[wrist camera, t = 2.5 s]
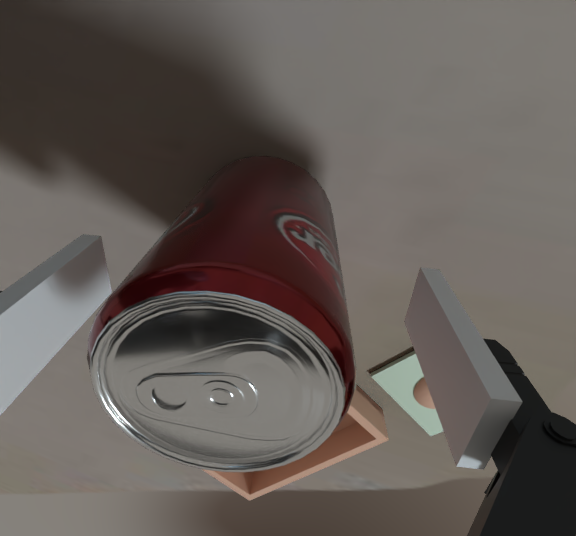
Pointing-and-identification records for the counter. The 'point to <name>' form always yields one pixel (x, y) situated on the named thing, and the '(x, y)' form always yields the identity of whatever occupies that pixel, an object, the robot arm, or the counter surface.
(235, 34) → the counter surface
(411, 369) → the tile
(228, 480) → the peach shallow tray
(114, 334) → the soda can
